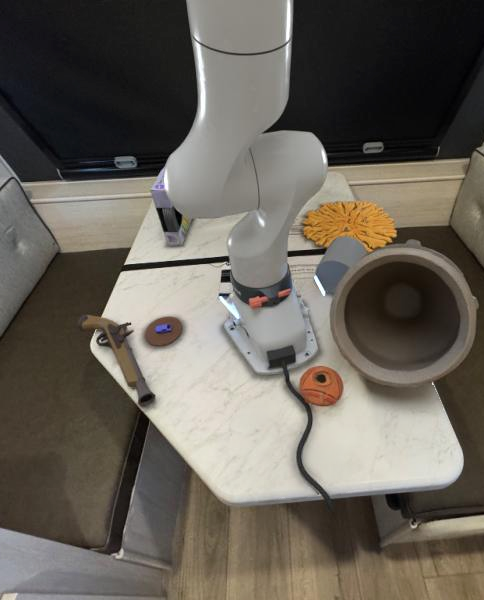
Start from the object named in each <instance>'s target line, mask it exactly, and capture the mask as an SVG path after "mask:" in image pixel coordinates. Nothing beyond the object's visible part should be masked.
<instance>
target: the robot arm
mask: <svg viewBox="0 0 484 600" xmlns="http://www.w3.org/2000/svg"><path fill="white" fill-rule="evenodd" d="M185 1H186V11H187V17H188V18H187V19H188V24H189V31H190V38H191V44H192V50H193V51H192V52H193V58H194V66H195V75H196V88H197V107H196V113H195V117H194V120H193V123H192V126H191V128H190V130H189V132H188V134H187V136H186V137H185V139H184V140H183V142H181V144H180V146H178V147H177V148H176V149H175V150H174V151H173V152H172V153H171V154H170V155H169V156H168V158H167V159H166V162H165V165H164V167H165V168H164V167H163V168H164V175H163V182H164V188H165V191H166V194H167V197H168V199H169V200H170V202H171V204H172V205H173V206H174V208H175V209H176V210H177V211H178V212H180V213H181V214H182V215H183V216H185V217H187V218H191V219H192V220H193V219H195V220H197V219H199V220H200V219H201V220H203V219H204V220H205V219H220V218H221V219H222V218H226V217H230V216H235V215H239V214H240V215H241V214H244V213H245V216H243V217H241V219H240V220H238V221H237V222H236V223H235V224H234V225H233V226H232V227H231V230H230V232H229V233H228V236H227V240H226V249H227V254H228V260H229V266H230V270H229V279H230V280H229V281H230V285H231V288H232V289H231V291H230V293H229V295H228V297H227V298H226V299H227V301H226V300H225V299H224V298H223V296H219V299H220V302H222V303H223V305H224V306H225V307H226V308H227V309H228V311H229V317H230V318H228V319H227V321H225V323H224V331H225V332H226V334H227V335H228V337H229V338H230V339H231V341H232V342H233V344H234V345H235V346H236V348H237V349H238V351H239V352H240V354H241V356H243V358H244V360H245V361H246V362H247V364H248V365H249V366H250V368H251V370H252V371H253V372H254V373H255V374H256V375H259V376H273V375H278V374H283V375H284V382H285V384H286V386H287V389H288V390H289V392H291V394H293V395H294V396H295V398H297V399H298V401H300V403H301V404H302V405H303V407H304V409H305V410H306V414H307V423H306V427H305V430H304V431H303V433H302V436H301V438H300V440H299V442H298V444H297V448H296V455H295V456H296V464H297V468H298V470H299V472H300V474H301V475H302V477H303V478H304V479H305V480H306V482H307V483H309V485H311V486H312V487H313V488H314V489H315V490H316V491H317V492H318V493H319V494H320V496H322V498H323V499H324V501H325V504H326V505H327V509H328V510H329V511H331V512H333V511H335V505H334V502H333V500H332V498H331V497H330V495H329V493H328V492H327V490H325V488H324V487H323V486H322V485H321V484H320V483H318V481H317V480H315V479H314V477H312V476H311V475H310V474H309V472H308V471H307V470H306V468H305V466H304V463H303V449H304V446H305V444H306V441H307V440H308V437H309V435H310V433H311V430H312V428H313V423H314V421H313V420H314V416H313V415H314V414H313V411H312V408H311V405H309V404H310V403H309V404H307V403H306V402H305V399H304V397H303V396H302V394H301V393H300V392H298V391H297V390H296V388H295V387H294V385H293V384H292V382H291V379H290V378H291V377H290V373H289V371H292V370H295V369H298V368H300V367H302V366H304V365H305V364H307V363H309V362H310V361H311V360H313V359H314V358H315V357H316V355H317V354H318V353H319V345H318V342H317V339H316V336H315V334H314V331H313V330H314V329H313V327H312V324H311V321H310V318H309V317H311V316H310V315H311V314H310V309H309V307H308V306H305V302H304V301H303V299H300V298H302V294H301V293H302V292H301V291H300V290H298V291H296V290H297V289H296V286H295V283H294V278H292V275H293V274H292V271H291V268H290V263H289V262H288V251H289V250H288V249H289V248H288V247H289V238H290V232H291V230H292V227H293V226H294V223H295V221H296V219H297V218H298V216H299V214H300V213H301V211H302V210H303V208H304V207H305V205H306V204H307V203H309V201H310V200H311V199H312V198H313V197H315V196H316V195H317V194H318V193H319V192H320V191H321V190H322V189H323V186H324V185H325V182H326V179H327V176H328V170H329V160H328V155H327V152H326V150H325V147H324V145H323V144H322V142H321V140H320V139H319V138H318V137H317V136H316V135H315V134H314V133H313V132H310V131H301V130H287V129H286V130H282V129H281V130H277V131H269V132H265V131H267V130H268V129H269V128H271V127H272V126H273V125H274V124H276V122H277V121H278V120H279V119H280V117H281V116H282V115H283V113H284V111H285V109H286V107H287V104H288V101H289V98H290V97H289V96H290V84H291V83H290V82H291V81H290V80H291V65H292V64H291V63H292V49H293V29H294V28H293V26H294V0H185ZM246 213H247V214H246ZM314 280H315V283H316V285H317V286H318V288H319V290H320V292H321V294H322V296H324V297H325V296H326V290H325V289H324V288H323V287H322V286H321V284H320V282H319V280H318V278H317V277H316V275H314Z"/></svg>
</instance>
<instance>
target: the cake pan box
mask: <svg viewBox="0 0 484 600" xmlns="http://www.w3.org/2000/svg"><path fill="white" fill-rule="evenodd" d="M164 168H165V166H164V167H163V168H162V169H161V170H160V172H159V174H158V176H157V179H156V180H155V182H154V183H153V185H152V187H150V191H149V192H150V194H151V198H152V200H153V204H154V207H155V210H156V213H157V216H158V219H159V222H160V225H161V229H162V232H163V235H164V238H165V241H166V245H167V246H171V247H172V246H183V245H184V242H185V240H186V236H187V234H188V231H189V228H190V226H191V223H192V220H193V219H191V218H187V217H185V216H183V215H182V214H181V213H180V212H178V211H177V210H176V209H175V208H174V206H173V205H172V204H171V202H170V200H169V199H168V197H167V194H166V191H165V188H164V182H163V175H164Z"/></svg>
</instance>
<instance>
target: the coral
mask: <svg viewBox="0 0 484 600" xmlns="http://www.w3.org/2000/svg"><path fill="white" fill-rule="evenodd" d="M377 206H378V203H375V202H372V203H371V202H367V201H366V200H365V201H363V202H362V201H360V200H356V201H349V202H348V203H347V201H344V200H343V201H342V202H341V201H340V200H338V201H337V203H336V202H334V203H333V202H329V203H326V202H324V203H321V207H320V208H319V209H318V208H317V209H316V211H315V210H313V209H312V210H309V211H308V212H307V213H305V215H304V216H305V217H307V218H305V219H304V220H302V223H301V224H303V225H306V226H304V227H303V228H302V232H303V236H305V237H306V239H307V240H312V241H314V244H315V246H318V247H322V246H323V247H324V248H325V249H327V248H328V247H329V245H330V243H331V242H332V241H333V240H334V239H336V238H338V237H342V236H348V237H352V238H355V239H357V240H359V241H360V242H361V243H362V244H363V245H364V247H365V248H366V250H367V253H369V252H371V251H373V250H375V249H378V248H381V247H384V246H387V245H388V244H393V238H397V236H398V234H397V232H398V231H397V230H396V227H395V223H394V222H395V219H394V218H392V217H391V218H390V217H389V213H388V212H385V211H384V207H382V206H379V207H377ZM345 230H346V231H345Z"/></svg>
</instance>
